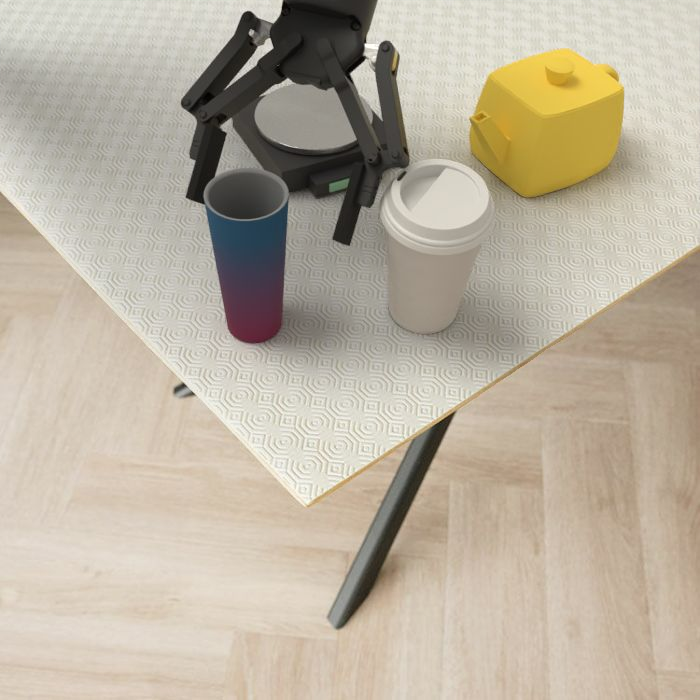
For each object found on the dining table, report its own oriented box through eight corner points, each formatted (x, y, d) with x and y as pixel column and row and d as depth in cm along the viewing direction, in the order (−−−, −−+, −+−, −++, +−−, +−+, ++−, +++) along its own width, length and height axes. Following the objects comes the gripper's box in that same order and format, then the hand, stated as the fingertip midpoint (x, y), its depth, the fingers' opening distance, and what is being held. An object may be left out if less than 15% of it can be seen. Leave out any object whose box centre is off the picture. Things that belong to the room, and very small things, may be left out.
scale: (232, 126, 105) (230, 103, 102) (341, 98, 109) (341, 76, 107) (291, 207, 95) (290, 184, 93) (407, 173, 100) (409, 151, 98)
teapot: (496, 219, 95) (515, 123, 86) (428, 157, 102) (439, 62, 93) (636, 163, 102) (666, 68, 94) (564, 108, 109) (586, 16, 101)
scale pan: (236, 103, 102) (236, 97, 102) (340, 78, 107) (340, 72, 106) (284, 167, 95) (284, 161, 94) (393, 137, 99) (394, 131, 98)
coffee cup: (430, 252, 89) (448, 135, 77) (494, 316, 85) (524, 203, 73) (351, 296, 86) (357, 181, 74) (414, 365, 82) (431, 256, 69)
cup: (294, 299, 86) (292, 169, 75) (288, 352, 82) (285, 222, 70) (222, 295, 86) (209, 165, 75) (212, 348, 82) (197, 218, 70)
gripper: (489, 19, 75) (415, 266, 77) (224, -34, 82) (160, 193, 84) (475, -18, 68) (394, 255, 69) (186, -73, 75) (117, 177, 76)
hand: (266, 222), depth 77 cm, fingers open, 13 cm apart
